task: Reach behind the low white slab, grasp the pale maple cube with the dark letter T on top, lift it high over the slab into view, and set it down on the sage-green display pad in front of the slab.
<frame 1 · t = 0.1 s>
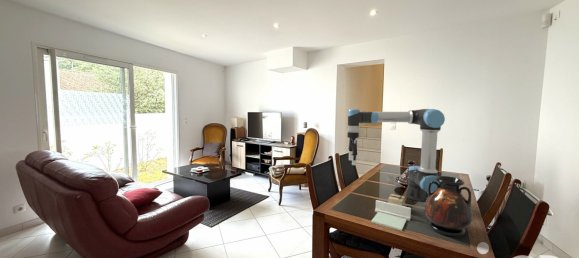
hand: (352, 162, 160), 28 cm above the table, fingers open, 13 cm apart
amphora vase: (446, 229, 126), on the table
white slab: (392, 214, 144), on the table
maple cube: (395, 209, 152), on the table
display pad: (389, 221, 135), on the table
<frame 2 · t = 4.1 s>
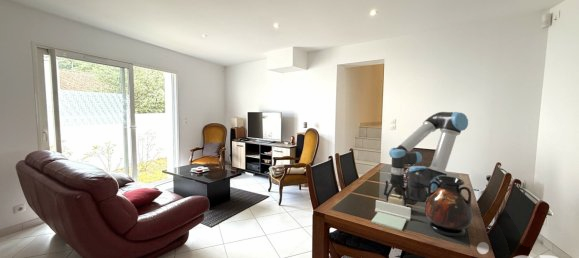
hand: (396, 207, 152), 1 cm above the table, fingers closed on maple cube, 8 cm apart
maple cube: (395, 208, 152), on the table, touching gripper
everything else where it was.
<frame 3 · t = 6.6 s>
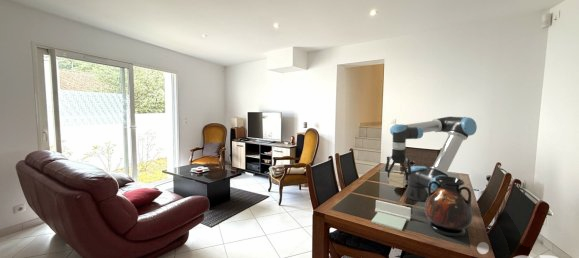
hand: (397, 183, 150), 17 cm above the table, fingers closed on maple cube, 8 cm apart
maple cube: (397, 184, 150), point 16 cm above the table, touching gripper
everything else where it was.
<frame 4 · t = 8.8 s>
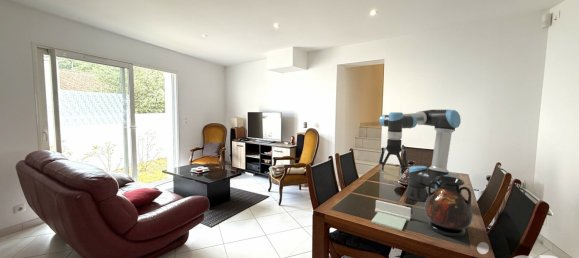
hand: (392, 177, 137), 25 cm above the table, fingers closed on maple cube, 8 cm apart
maple cube: (392, 178, 137), point 24 cm above the table, touching gripper
everything else where it was.
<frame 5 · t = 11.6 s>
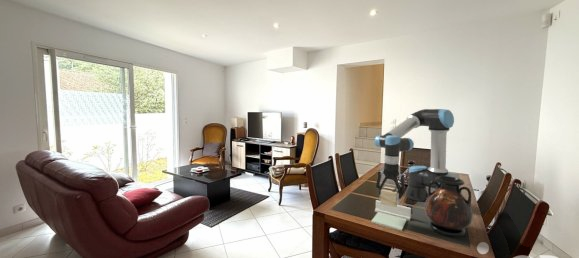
hand: (389, 201, 134), 12 cm above the table, fingers closed on maple cube, 8 cm apart
maple cube: (389, 203, 134), point 11 cm above the table, touching gripper
everything else where it was.
when the fingers open (3 cm above the table, at t = 13.8 s): maple cube drops 1 cm, resting on display pad.
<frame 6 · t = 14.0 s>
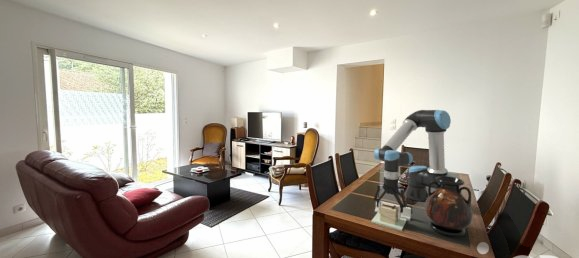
hand: (389, 215, 135), 4 cm above the table, fingers open, 10 cm apart
maple cube: (389, 219, 135), point 1 cm above the table, touching display pad
everything else where it was.
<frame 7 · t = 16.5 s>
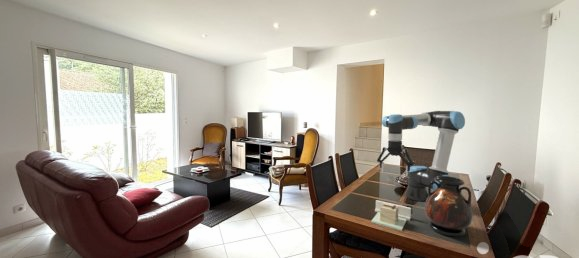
hand: (394, 174, 142), 25 cm above the table, fingers open, 13 cm apart
nothing on the table moved.
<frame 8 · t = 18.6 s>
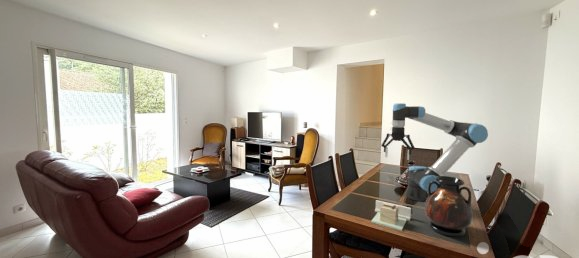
hand: (396, 158, 156), 32 cm above the table, fingers open, 13 cm apart
nothing on the table moved.
at the end: maple cube inside the target area on the display pad (0.0 cm from its centre), point 1.0 cm above the display pad's base; the gripper is holding nothing; maple cube tilted 0° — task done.
